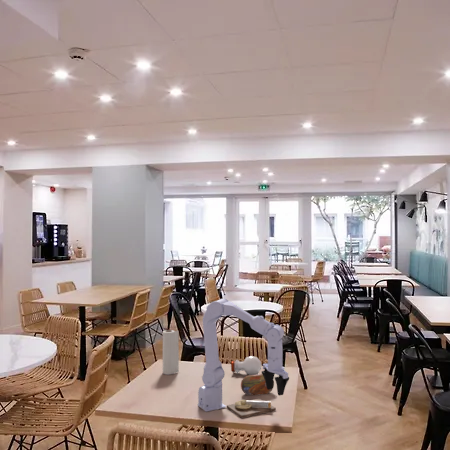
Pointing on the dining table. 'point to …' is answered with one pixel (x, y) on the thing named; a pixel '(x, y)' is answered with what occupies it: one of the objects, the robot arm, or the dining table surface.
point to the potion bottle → (247, 365)
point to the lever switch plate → (250, 410)
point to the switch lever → (251, 404)
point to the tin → (254, 385)
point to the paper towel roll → (170, 352)
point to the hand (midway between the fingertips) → (275, 391)
